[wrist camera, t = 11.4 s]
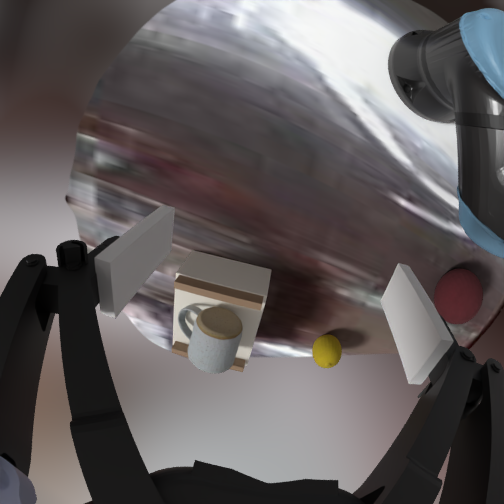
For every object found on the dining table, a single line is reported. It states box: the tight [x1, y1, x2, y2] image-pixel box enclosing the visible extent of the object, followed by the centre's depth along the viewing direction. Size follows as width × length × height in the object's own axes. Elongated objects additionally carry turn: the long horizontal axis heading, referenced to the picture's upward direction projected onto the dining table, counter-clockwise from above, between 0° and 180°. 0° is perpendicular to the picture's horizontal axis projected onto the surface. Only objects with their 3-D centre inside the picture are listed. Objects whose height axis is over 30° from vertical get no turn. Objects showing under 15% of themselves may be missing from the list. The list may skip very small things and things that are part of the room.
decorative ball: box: [434, 269, 483, 324], centre depth 41 cm, size 10×10×10 cm
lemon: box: [312, 334, 342, 368], centre depth 50 cm, size 6×6×8 cm
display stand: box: [172, 250, 271, 372], centre depth 48 cm, size 14×16×10 cm
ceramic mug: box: [178, 305, 243, 373], centre depth 42 cm, size 11×8×8 cm
